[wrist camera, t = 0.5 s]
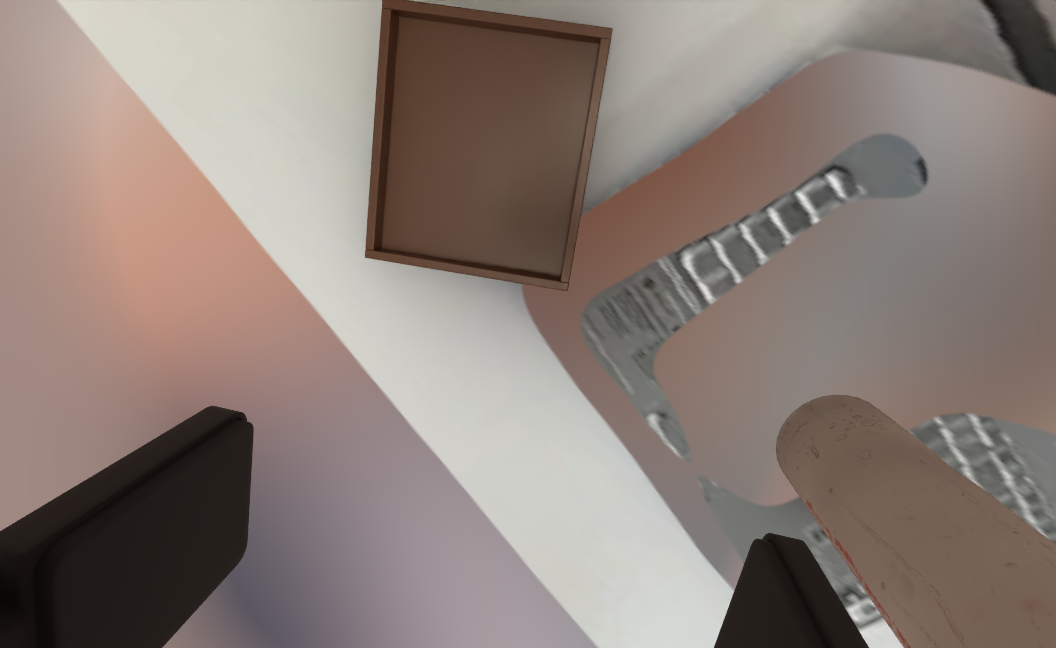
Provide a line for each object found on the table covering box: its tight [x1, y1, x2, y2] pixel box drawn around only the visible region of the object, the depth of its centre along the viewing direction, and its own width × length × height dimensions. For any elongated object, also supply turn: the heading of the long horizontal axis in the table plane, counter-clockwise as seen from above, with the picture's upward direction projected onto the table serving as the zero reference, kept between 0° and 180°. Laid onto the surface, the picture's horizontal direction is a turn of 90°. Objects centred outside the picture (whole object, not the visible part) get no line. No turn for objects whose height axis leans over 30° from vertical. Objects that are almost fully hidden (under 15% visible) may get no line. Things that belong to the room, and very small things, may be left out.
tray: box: [365, 0, 613, 291], centre depth 35 cm, size 16×14×2 cm
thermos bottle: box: [776, 395, 1056, 648], centre depth 26 cm, size 8×8×28 cm
